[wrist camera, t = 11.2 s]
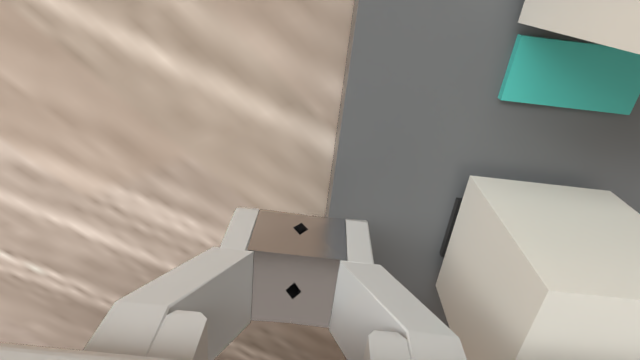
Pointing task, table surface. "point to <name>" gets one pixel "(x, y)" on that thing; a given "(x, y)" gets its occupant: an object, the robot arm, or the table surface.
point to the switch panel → (470, 122)
